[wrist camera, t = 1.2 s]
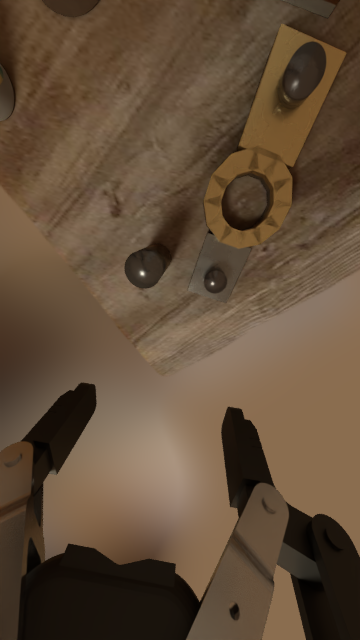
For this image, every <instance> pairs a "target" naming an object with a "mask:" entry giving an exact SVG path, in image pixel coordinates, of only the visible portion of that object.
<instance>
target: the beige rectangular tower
mask: <svg viewBox="0 0 360 640" xmlns="http://www.w3.org/2000/svg"><path fill="white" fill-rule="evenodd" d="M282 1H284V2H287V3H290V4H292V5H295V6H297V7H300V8H303V9H305V10H308V11H310V12H313V13H315V14H318V15H321V16H323V17H326V18H328V17H329V16H330V14H331V13H332V11H333V9H334V8H335V6H336V5H337V3H338V2H339V0H282Z"/></svg>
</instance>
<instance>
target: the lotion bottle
mask: <svg viewBox="0 0 360 640" xmlns="http://www.w3.org/2000/svg"><path fill="white" fill-rule="evenodd" d="M13 107H14V92H13V88H12V84H11V82H10V79H9V77H8V75H7V73H6V71H5V69H4V68H3V67H2V65H1V64H0V121H2V120H5V119H7V118H8V117H9V116H10V115H11V113H12V111H13Z"/></svg>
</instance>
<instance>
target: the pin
mask: <svg viewBox="0 0 360 640" xmlns="http://www.w3.org/2000/svg"><path fill="white" fill-rule="evenodd" d="M170 262H171V255H170V252H169V250H168V249H167V248H166V247H165V246H163V245H161V244H153V245H150V246H148V247H146V248H144V249H141V250H139V251H137V252H134V253H132V254H131V255H130V256H129V257H128V258H127V260H126V262H125V274H126V276H127V278H128V280H129V281H130V282H131V283H132V284H133V285H135V286H137V287H139V288H150V287H152V286H154V285H155V284H156V283H157V282H158V281H159V279H160V278H161V276H162V275H163V274H164V272H165V271H166V269H167V268H168V266H169V265H170Z"/></svg>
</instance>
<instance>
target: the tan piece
mask: <svg viewBox="0 0 360 640" xmlns="http://www.w3.org/2000/svg"><path fill="white" fill-rule="evenodd" d="M345 55H346V52H344V51H342V50H339V49H337V48H335V47H333V46H331V45H328V44H326V43H324V42H322V41H319V40H317V39H315V38H313V37H310V36H308V35H306V34H304V33H302V32H299V31H297V30H295V29H293V28H290V27H288V26H286V25H284V24H281V26H280V28H279V31H278V33H277V35H276V38H275V41H274V44H273V46H272V49H271V51H270V53H269V56H268V59H267V62H266V65H265V68H264V70H263V73H262V76H261V79H260V82H259V85H258V88H257V91H256V94H255V96H254V99H253V102H252V105H251V110H250V113H249V116H248V119H247V121H246V124H245V127H244V130H243V133H242V136H241V139H240V141H239V144H238V147H237V150H239V152H235V153H232V154H231V155H230V156H229V157H228V158H227V159H226V160H225V161H224V162H223V163H222V164H221V165H220V167H219V168H218V169H217V170H216V171H215V172H214V173H213V174H212V175H211V179H210V183H209V186H208V189H207V192H206V195H205V198H204V201H203V206H204V213H205V220H206V226H207V227H208V228H209V229H210V231H211V232H212V233H213V235H212V234H210V233H207V235H206V237H205V240H204V243H203V246H202V249H201V252H200V255H199V258H198V260H197V263H196V266H195V269H194V272H193V275H192V278H191V281H190V283H189V286H188V291H190V292H193V293H197V294H200V295H203V296H206V297H209V298H212V299H215V300H218V301H221V302H224V303H227V300H228V298H229V296H230V294H231V292H232V290H233V287H234V285H235V283H236V281H237V279H238V277H239V275H240V272H241V270H242V268H243V266H244V264H245V262H246V260H247V257H248V255H249V253H250V251H251V249H252V248H249V246H254V245H259V244H261V243H262V242H264V241H265V240H266V239H267V238H269V237H270V236H271V235H272V234H273V233H275V232H276V231H277V230H278V229H280V227H281V225H282V223H283V221H284V219H285V217H286V215H287V213H288V211H289V209H290V207H291V205H292V176H291V174H290V172H289V169H290V168H292V167H293V166H294V164H295V161H296V159H297V157H298V155H299V153H300V151H301V149H302V147H303V144H304V142H305V140H306V138H307V136H308V134H309V132H310V130H311V127H312V125H313V123H314V121H315V119H316V117H317V115H318V113H319V110H320V108H321V106H322V104H323V102H324V100H325V98H326V96H327V93H328V91H329V89H330V87H331V85H332V83H333V81H334V79H335V77H336V74H337V72H338V70H339V68H340V66H341V64H342V62H343V60H344V57H345ZM247 175H248V176H251V177H253V178H256V179H259V180H260V181H261V183H262V185H263V186H264V188H265V189H266V191H267V207H266V209H265V211H264V213H263V216H262V218H261V219H260V220H259V221H258V222H257V223H256V224H255V225H253V226H252V227H251V228H249V229H244V230H237V229H234V228H231V227H230V226H229V225H228V223H227V222H226V220H225V219H224V218H223V216H222V207H221V200H222V197H223V194H224V192H225V189H226V187H227V186H228V185H229V184H230V183H231V182H232V181H233V180H234V179H236V178H240V177H243V176H247Z"/></svg>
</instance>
